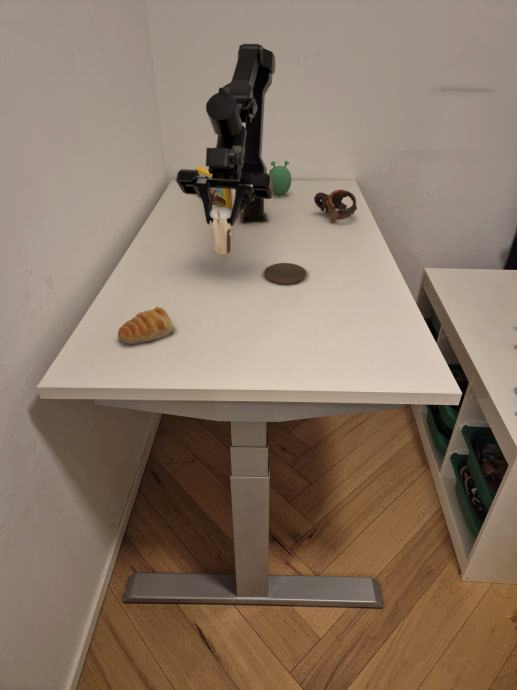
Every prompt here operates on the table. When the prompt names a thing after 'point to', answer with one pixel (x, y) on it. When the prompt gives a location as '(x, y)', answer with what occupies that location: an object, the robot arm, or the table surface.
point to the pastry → (146, 327)
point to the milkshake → (221, 229)
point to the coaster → (285, 273)
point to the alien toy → (280, 178)
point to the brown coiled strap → (336, 204)
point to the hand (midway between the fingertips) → (219, 224)
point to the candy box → (218, 191)
